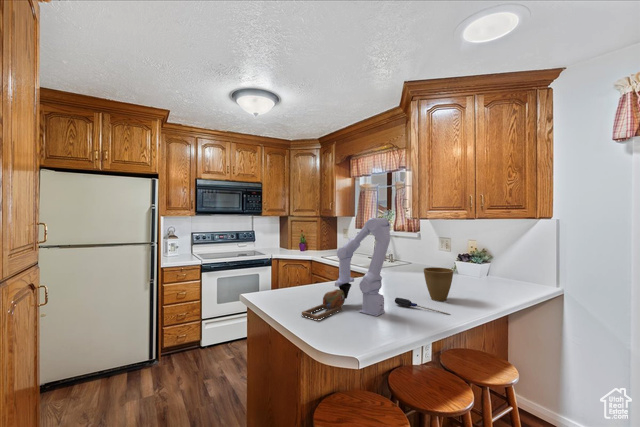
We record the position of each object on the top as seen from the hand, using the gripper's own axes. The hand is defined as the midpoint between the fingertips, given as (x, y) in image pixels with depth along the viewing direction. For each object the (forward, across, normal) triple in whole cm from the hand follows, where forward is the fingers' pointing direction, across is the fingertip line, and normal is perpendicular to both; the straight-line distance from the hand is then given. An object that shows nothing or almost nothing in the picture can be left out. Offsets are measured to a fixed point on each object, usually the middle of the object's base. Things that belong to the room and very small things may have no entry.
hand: (344, 298), depth 150 cm
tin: (+3, +9, 0) cm, 9 cm away
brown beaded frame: (+3, +18, 0) cm, 18 cm away
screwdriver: (+3, -16, +33) cm, 37 cm away
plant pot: (+3, -39, +34) cm, 52 cm away
